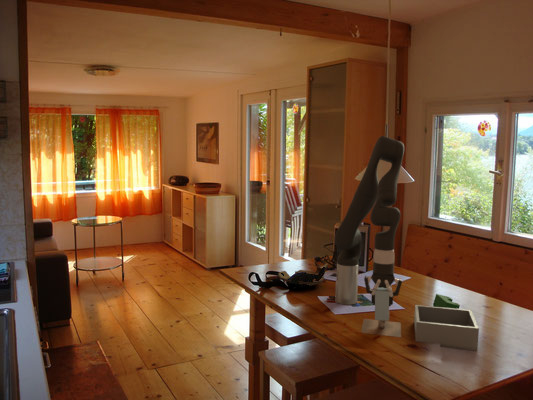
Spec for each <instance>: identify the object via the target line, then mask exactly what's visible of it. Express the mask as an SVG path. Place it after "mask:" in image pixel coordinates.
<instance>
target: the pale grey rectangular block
mask: <svg viewBox="0 0 533 400" xmlns="http://www.w3.org/2000/svg"><path fill="white" fill-rule="evenodd" d="M374 320H385V321H390V306H389V291H388V290H387V288H383V287H382V288H377V290H375V305H374Z"/></svg>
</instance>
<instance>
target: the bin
mask: <svg viewBox="0 0 533 400" xmlns="http://www.w3.org/2000/svg"><path fill="white" fill-rule="evenodd" d="M413 318H414V319H413V321H414V322H413V324H414V326H413V327H414V336H415V337H414V338H415V342H418V343H427V344H435V345H436V344H437V345H440V348H447V349H456V350H464V351H465V350H466V351H472V352H473V351H474V352H478V346H479V333H480V331H479V330H480V328H479V326H478V323H477V321H476V319H475V316H474V314H473V312H472V309H465V308H464V309H463V308H459V309H454V308H443V307H433V305H432V306H431V305H421V304H415V305H414V317H413Z"/></svg>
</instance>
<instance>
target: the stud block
mask: <svg viewBox="0 0 533 400" xmlns="http://www.w3.org/2000/svg"><path fill="white" fill-rule="evenodd" d="M361 333H362V334H370V335H378V336H388V337H394V338H395V337H396V338H401V337H402V323H401V322H398V321H397V322H396V321H390V320H389V321H385V320H375V319H371V318H370V319H369V318H363V321H362V326H361Z"/></svg>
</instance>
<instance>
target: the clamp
mask: <svg viewBox="0 0 533 400" xmlns="http://www.w3.org/2000/svg"><path fill="white" fill-rule="evenodd" d="M432 306H433V307H443V308H454V309H460V304H459V303H458V302H455V301H453V298H452V297H449V296H446V295H442V294H439V293H436V294H435V297H434V300H433V303H432Z"/></svg>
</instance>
